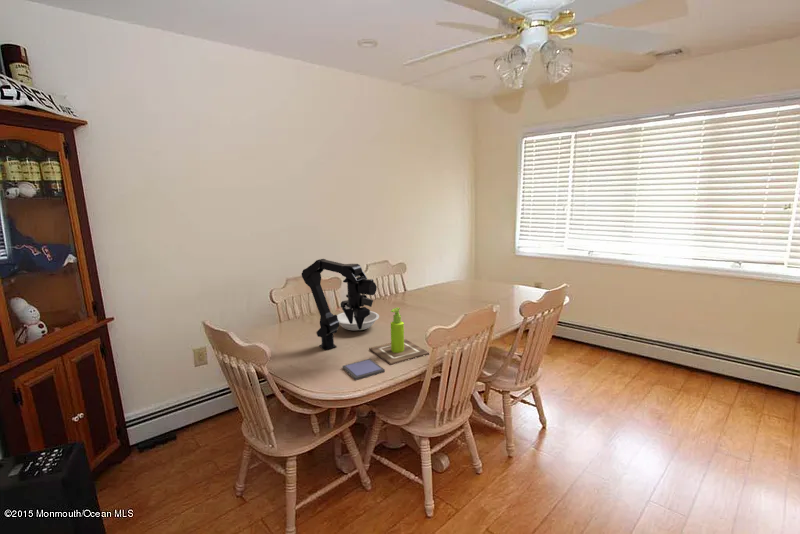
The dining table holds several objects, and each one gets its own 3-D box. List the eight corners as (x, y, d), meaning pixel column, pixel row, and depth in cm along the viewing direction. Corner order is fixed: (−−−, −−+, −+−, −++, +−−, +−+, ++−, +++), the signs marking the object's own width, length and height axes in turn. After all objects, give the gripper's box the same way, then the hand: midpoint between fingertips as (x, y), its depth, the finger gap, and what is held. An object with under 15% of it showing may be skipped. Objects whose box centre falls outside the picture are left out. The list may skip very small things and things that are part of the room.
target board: (369, 349, 185) (369, 347, 185) (405, 340, 195) (405, 338, 195) (390, 364, 168) (390, 362, 168) (429, 354, 178) (429, 352, 178)
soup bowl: (343, 320, 228) (343, 309, 227) (384, 322, 223) (383, 311, 222) (327, 335, 205) (327, 322, 204) (372, 337, 200) (372, 325, 199)
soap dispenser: (387, 351, 179) (386, 309, 176) (395, 346, 185) (394, 305, 182) (398, 354, 176) (397, 311, 173) (406, 349, 182) (405, 307, 179)
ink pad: (342, 368, 166) (342, 365, 166) (370, 360, 172) (370, 358, 172) (355, 380, 155) (355, 377, 155) (384, 371, 161) (384, 369, 161)
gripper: (380, 294, 171) (381, 328, 174) (361, 286, 187) (362, 317, 190) (356, 298, 166) (358, 333, 169) (339, 289, 181) (340, 322, 184)
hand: (355, 326), depth 178 cm, fingers open, 9 cm apart
